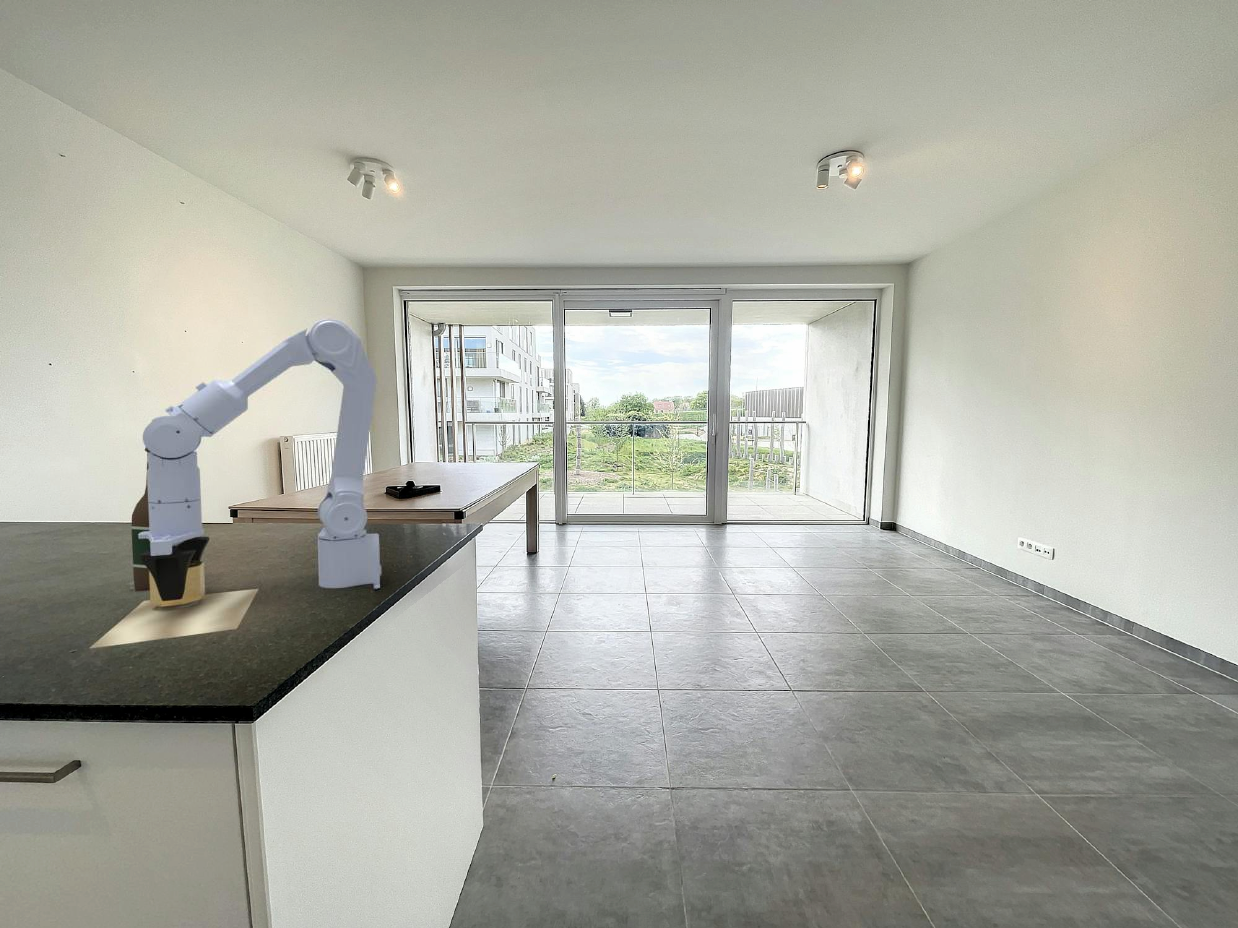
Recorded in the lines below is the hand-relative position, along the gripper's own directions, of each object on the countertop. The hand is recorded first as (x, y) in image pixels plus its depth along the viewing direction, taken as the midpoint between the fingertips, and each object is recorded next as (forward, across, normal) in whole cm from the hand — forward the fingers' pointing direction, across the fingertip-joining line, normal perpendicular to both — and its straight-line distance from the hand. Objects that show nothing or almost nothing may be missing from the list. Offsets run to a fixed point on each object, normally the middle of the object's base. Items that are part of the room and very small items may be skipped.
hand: (179, 593), depth 74 cm
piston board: (+3, +5, +2) cm, 6 cm away
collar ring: (+1, 0, 0) cm, 1 cm away
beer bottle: (+3, -14, -5) cm, 15 cm away
